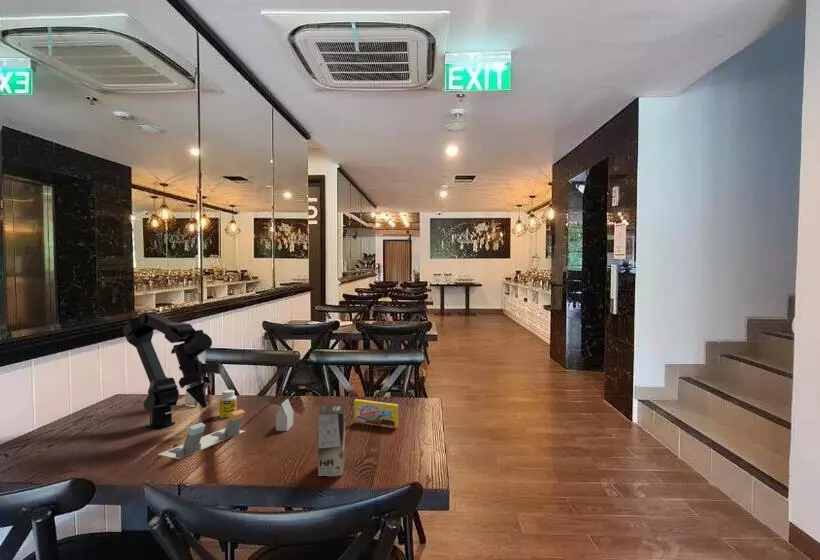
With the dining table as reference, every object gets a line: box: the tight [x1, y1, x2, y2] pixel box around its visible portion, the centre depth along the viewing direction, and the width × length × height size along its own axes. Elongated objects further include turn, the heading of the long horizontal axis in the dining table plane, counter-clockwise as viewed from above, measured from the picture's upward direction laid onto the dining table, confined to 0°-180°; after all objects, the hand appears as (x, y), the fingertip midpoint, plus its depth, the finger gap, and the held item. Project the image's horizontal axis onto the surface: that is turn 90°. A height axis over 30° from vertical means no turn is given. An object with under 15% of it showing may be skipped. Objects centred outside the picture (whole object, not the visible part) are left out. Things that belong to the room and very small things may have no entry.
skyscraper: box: [184, 351, 209, 408], centre depth 183 cm, size 8×8×28 cm
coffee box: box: [317, 403, 346, 477], centre depth 122 cm, size 9×6×16 cm
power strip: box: [158, 427, 246, 460], centre depth 138 cm, size 8×25×3 cm, turn 157°
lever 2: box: [224, 408, 246, 439], centre depth 142 cm, size 2×4×8 cm, turn 156°
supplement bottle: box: [219, 389, 238, 419], centre depth 164 cm, size 6×6×10 cm
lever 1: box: [182, 421, 207, 456], centre depth 128 cm, size 2×4×8 cm, turn 156°
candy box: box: [353, 398, 399, 427], centre depth 159 cm, size 16×2×8 cm, turn 68°
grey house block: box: [275, 398, 295, 432], centre depth 152 cm, size 4×7×10 cm, turn 178°
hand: (204, 407), depth 146 cm, fingers closed
